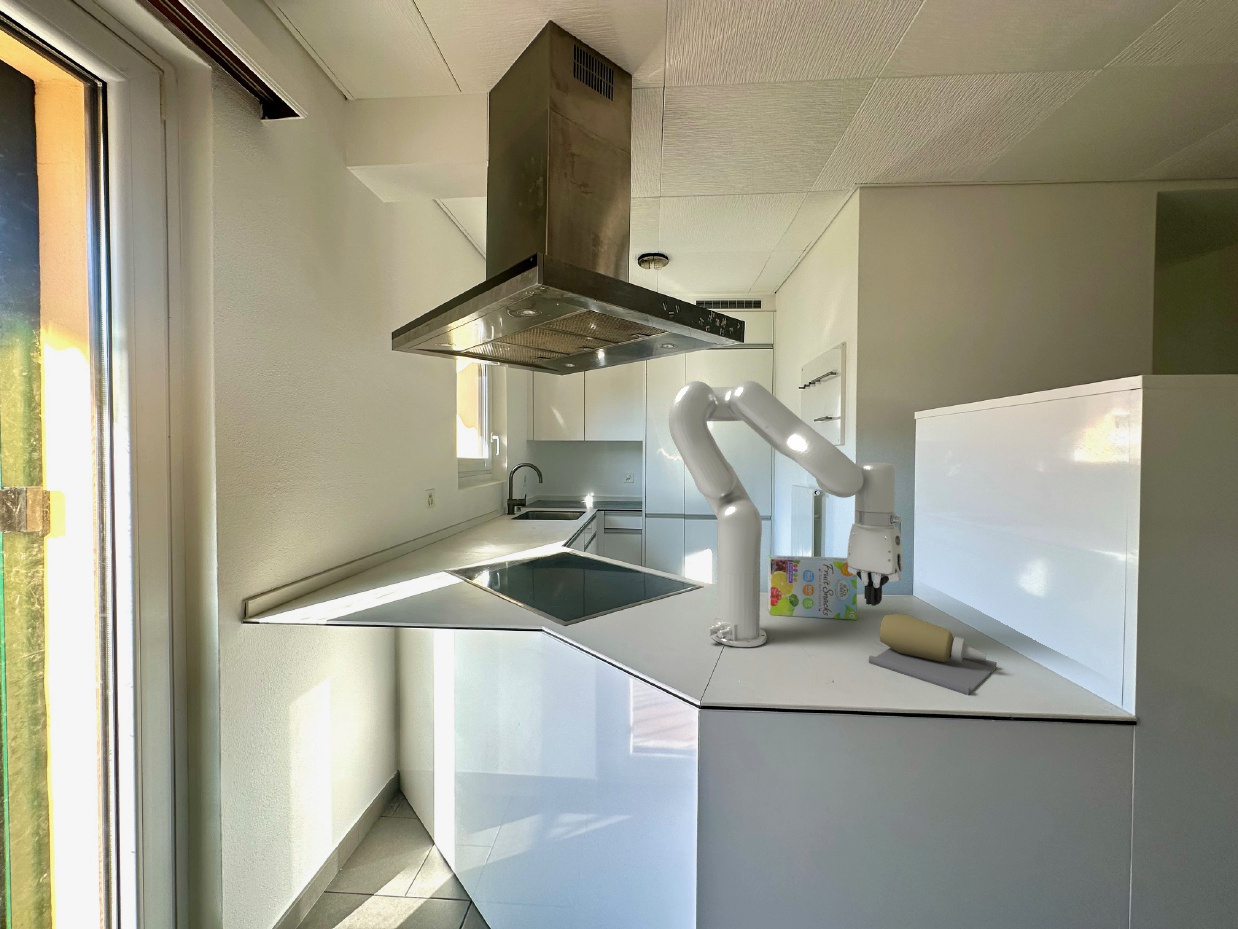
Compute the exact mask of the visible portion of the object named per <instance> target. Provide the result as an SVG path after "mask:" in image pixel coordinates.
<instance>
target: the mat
mask: <svg viewBox="0 0 1238 929" xmlns="http://www.w3.org/2000/svg"><path fill="white" fill-rule="evenodd" d="M868 663H869V664H872V665H875V666H878V667H880V668H884V669H888V670H890V671H893V672H895V673H896V672H897V673H899V674H903V675H905V676H908V677H911V678H915V679H918V680H921V681H924V682H926V683H930V684H933V685H937V686H939V687H942V688H944V689H948V690H951V691H955V692H957V693H961V694H965V695H967V694H968V696H969V695H971V693H972V692H973V691H974V690H976V689H977V688H978V687H979V686H980V685H981V684H982V683H983V682H984V681H985V680H986V679H987V678H988V677H989V676H990V675H991V674H992V673H993V672H994V671H995V670H996V669H997V666H998V665H997V662H996V661H992V660H989V659H986V661H985V660H976V659H968V658H963V659H962V662H961V663H960V662H957V661H953V660H952V659H951V657H950V658H949V660H948V661H947V662H945V663H944V662H939V661H935V660H930V659H925V658H921V657H916V656H912V655H907V654H903V653H898V652H897V651H895V650H893V649H892V648H890V647H889V648H888V649H886V650H885V651H883V652H881V653H879V654H877V655H876V656H873V655H869V657H868ZM994 669H995V670H994ZM993 670H994V671H993ZM992 671H993V672H992ZM991 672H992V673H991ZM990 673H991V674H990ZM989 674H990V675H989ZM988 675H989V676H988ZM987 676H988V677H987ZM986 677H987V678H986ZM985 678H986V679H985ZM984 679H985V680H984ZM983 680H984V681H983ZM982 681H983V682H982ZM981 682H982V683H981ZM980 683H981V684H980ZM979 684H980V685H979ZM978 685H979V686H978ZM977 686H978V687H977Z"/></svg>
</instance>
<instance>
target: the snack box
mask: <svg viewBox="0 0 1238 929" xmlns="http://www.w3.org/2000/svg"><path fill="white" fill-rule="evenodd" d="M848 567H849V565H848V562H847V557H831V556H804V555H803V556H802V555H801V556H800V555H799V556H798V555H776V554H775V555H772V554H770V555H768V556H767V609H768V612H769V614H770V616H780V617H781V616H784V617H802V618H816V619H820V618H821V619H833V620H834V619H836V620H850V621H851V620H853V621H856V620H857V617H858V616H857V612H858V602H857V601H858V576H857V575H854V574H852V573H850V572H848Z"/></svg>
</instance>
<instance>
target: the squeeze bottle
mask: <svg viewBox="0 0 1238 929" xmlns="http://www.w3.org/2000/svg"><path fill="white" fill-rule="evenodd" d="M879 641H880V642H881V643H882V644H884V645H886V646H887V647H889V649H890V648H892V649H893V650H895V651H897V652H898V653H903V654H907V655H912V656H916V657H921V658H925V659H930V660H935V661H939V662H944V663H945V662H947V661H948V660H949V658H950V657H951V659H952V660H953V661H957V662H960V663H961V662H962V659H963V658H968V659H976V660H985V661H986V660H987V653H984V652H982V651H980V650H978V649H976V648H973V647H971V646H969V645H967V644H966V640H965V638H962V637H958V636H953V633H952V631H950V629H948V628H946V627H945V628H944V627H942V626H939V625H936V624H933V623H931V622H929V621H926V620H925V621H924V620H922V619H919V618H917V617H914V616H911V615H908V614H906V613H900V614H899V613H896V614H895V613H894V614H893V613H891V614H888V613H887V614H885V615H884V616H883V618H882V620H881V623H880V627H879Z"/></svg>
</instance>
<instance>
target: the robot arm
mask: <svg viewBox="0 0 1238 929" xmlns="http://www.w3.org/2000/svg"><path fill="white" fill-rule="evenodd" d="M741 421H743V422H744V423H745V424H746V425H747V426H748V427H749V428H750V429H752V430H753V431H754V432H755V433H756V434H757V435H759V437H760V438H762V439H763V440H764V441H765V442H766V443H767V444H768V445H769V446H771V447H772V448H773V449H774V450H775V451H777V452H778V453H779V454H781V455H784V456H785V457H786V458H788V459H790V460H792V461H794V462H795V463H797V464H798V465H799V466H800V467H802V468H803V469H805V471H807V472H808V473H809V474H810V475H811V476H812V477H814V478H815V481H816V484H817V486H818V487H819V489H821V490H822V491H823V492H824V493H826V494H829V495H831V496H835V497H837V498H841V499H845V498H850V497H853V496H855V499H854V500H855V502H854V503H855V504H854V506H855V507H854V508H855V509H854V510H855V511H854V523H852V525H851V528H850V531H849V537H848V545H847V557H846V558H847V562H848V565H849V567H848V572H850V573H852V574H854V575H857V578H859V580H860V581H861V583H862V585H863V586H864V595H863V596H864V599H865V604H866V605H869V606H872V607H873V606H877V605H879V604H880V603H881V602H882V601H883V587H884V586H885V585H886V584H887V583H889V582H899V581H901V580H902V576H901V572H902V571H903V568H904V559H903V545H902V538H901V532H900V528H899V527H898V526H897V527H896V526H895V525H896V524H901V522H902V517H901V516H898V515H896V512H895V499H896V498H895V496H896V494H895V493H896V492H895V488H896V485H895V484H896V470H895V466H894V465H893V464H892V463H888V462H861V463H856V462H854V461H853V460H851V458H849V457H848V456H847V455H846V454H845V453H844V452H842V451H841V450H840V449H839V448H838V447H837V446H835V445H834V444H833V443H832V442H831V441H829V440H828V439H827V438H825V437H824V436H823V435H821V434H820V433H819V432H818V431H816V430H815V429H813V427H812V426H810V425H809V424H808V423H807V422H805V421H803V420H802V419H801V418H800V417H799V416H798V415H797V414H796V413H794V412H793V411H792V410H790V409H789V408H788V407H787V406H786V405H785V404H784V403H783V402H782V401H780V399H778V398H777V397H776V395H775V396H774V394H772V393H771V392H770V391H769V390H768V389H766V387H764V386H763V385H762V384H760V383H758V382H756V381H754V380H745V381H744V380H743V381H742V382H740V383H738V384H737V385H735V386H718V387H717V386H715V387H714V386H713V387H711V386H710V385H708V384H707V383H706V382H704V381H699V380H693V381H690V382H689V381H688V382H687V383H685V384H684V385H683V386H682V387H681V388H680V389H679V390H678V391H677V392H676V394H675V395H674V398H673V400H672V402H671V404H670V407H669V412H668V429H669V432H670V436H671V439H672V440H673V443H674V445H675V447H676V449H677V452H679V453H678V454H680V456H681V459H682V460H683V462H684V464H685V466H686V469H687V470H688V471H689V473H690V475H691V476H692V478H693V481H694V483H695V486H696V488H697V490H698V491H699V492H700V494H701V495H703V496H704V498H705V500H706V502H707V503H708V505H709V507H710V509H711V511H712V512H713V513H714V515H715V517H716V519H717V524H716V525H717V527H716V528H717V529H716V530H717V531H716V532H717V542H716V543H717V552H716V553H717V555H716V557H717V560H716V564H717V566H716V571H717V576H716V580H717V582H716V585H717V586H716V587H717V588H716V618H714V623H713V624H712V626H707V627H705V628H704V630H703V634H704V636H706V637H707V638H708V637H711V639H713V640H714V641H716V642H717V643H719V644H723V645H726V646H729V647H730V646H731V647H735V648H736V647H737V648H752V647H753V648H755V647H758V646H762V645H763V644H765V643H766V641H767V638H768V635H767V633H766V631H764V629H763V628H760V620H761V619H760V616H761V614H760V612H761V546H762V534H763V533H762V532H763V530H762V528H763V524H762V516H761V513H760V511H759V509H758V508H757V507H756V505H755V503H754V502H753V500H752V499H751V497H750V496H749V493H748V492H747V491H746V489H745V487H744V486H743V483H742V482H741V480H740V479H739V476H738V475H737V473H736V471H735V469H734V467H733V466H732V464H731V463H730V462H729V461H728V460H727V459H726V457H725V456H724V453H723V452H722V451H721V449H720V447H719V445H718V444H717V442H716V440H715V438H714V436H713V434H712V433H711V430H710V428H709V427H708V422H741ZM873 574H874V576H873Z"/></svg>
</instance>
